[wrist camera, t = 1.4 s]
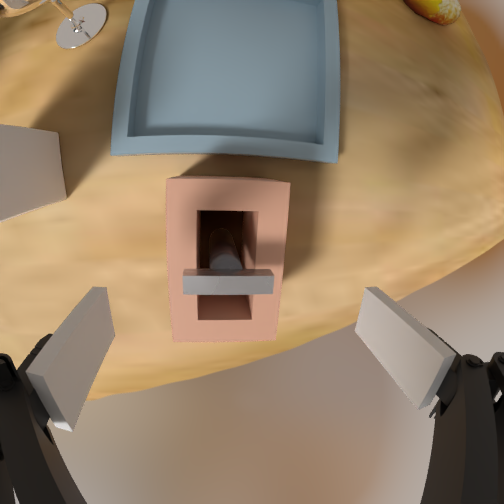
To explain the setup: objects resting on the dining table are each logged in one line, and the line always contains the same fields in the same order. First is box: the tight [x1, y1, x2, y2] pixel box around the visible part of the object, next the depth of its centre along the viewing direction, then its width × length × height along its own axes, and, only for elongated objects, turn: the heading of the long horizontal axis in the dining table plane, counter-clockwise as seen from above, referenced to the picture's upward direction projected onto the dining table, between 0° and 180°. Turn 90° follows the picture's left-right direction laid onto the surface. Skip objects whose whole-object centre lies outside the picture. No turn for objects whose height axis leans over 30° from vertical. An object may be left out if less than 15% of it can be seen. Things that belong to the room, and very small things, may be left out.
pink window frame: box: [166, 176, 290, 342], centre depth 23 cm, size 14×8×8 cm, turn 177°
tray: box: [110, 0, 340, 163], centre depth 20 cm, size 20×20×2 cm
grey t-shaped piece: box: [183, 228, 274, 295], centre depth 21 cm, size 5×2×11 cm, turn 87°
